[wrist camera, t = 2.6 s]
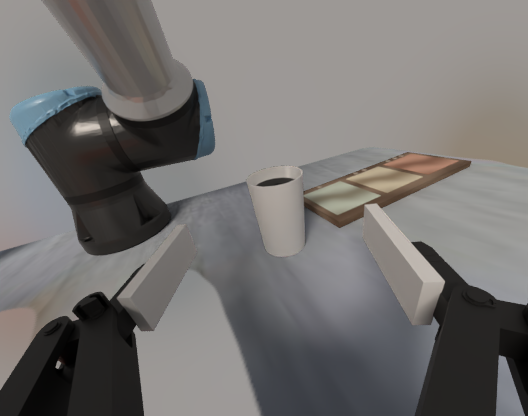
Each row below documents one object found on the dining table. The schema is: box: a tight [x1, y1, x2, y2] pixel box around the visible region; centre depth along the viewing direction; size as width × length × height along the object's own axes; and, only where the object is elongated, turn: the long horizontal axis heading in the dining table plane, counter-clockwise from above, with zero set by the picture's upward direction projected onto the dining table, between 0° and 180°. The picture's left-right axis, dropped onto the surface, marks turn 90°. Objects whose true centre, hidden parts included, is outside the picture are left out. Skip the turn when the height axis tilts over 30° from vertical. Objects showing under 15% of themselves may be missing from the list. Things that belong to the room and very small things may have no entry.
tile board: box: [303, 152, 471, 228], centre depth 39 cm, size 12×32×1 cm, turn 116°
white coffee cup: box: [246, 166, 305, 257], centre depth 26 cm, size 7×7×10 cm
